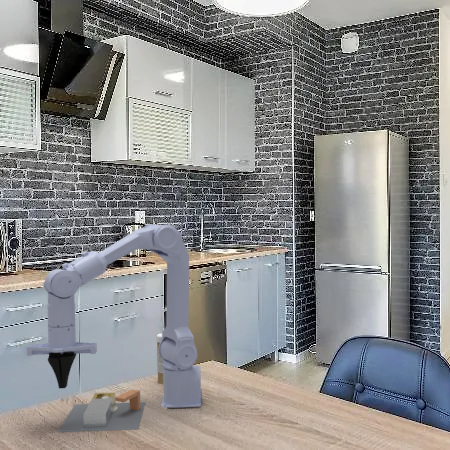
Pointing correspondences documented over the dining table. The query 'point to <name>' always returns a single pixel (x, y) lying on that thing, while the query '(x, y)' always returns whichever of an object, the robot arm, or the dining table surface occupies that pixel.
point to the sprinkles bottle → (159, 361)
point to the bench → (118, 421)
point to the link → (99, 410)
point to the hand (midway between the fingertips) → (63, 386)
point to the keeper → (130, 398)
